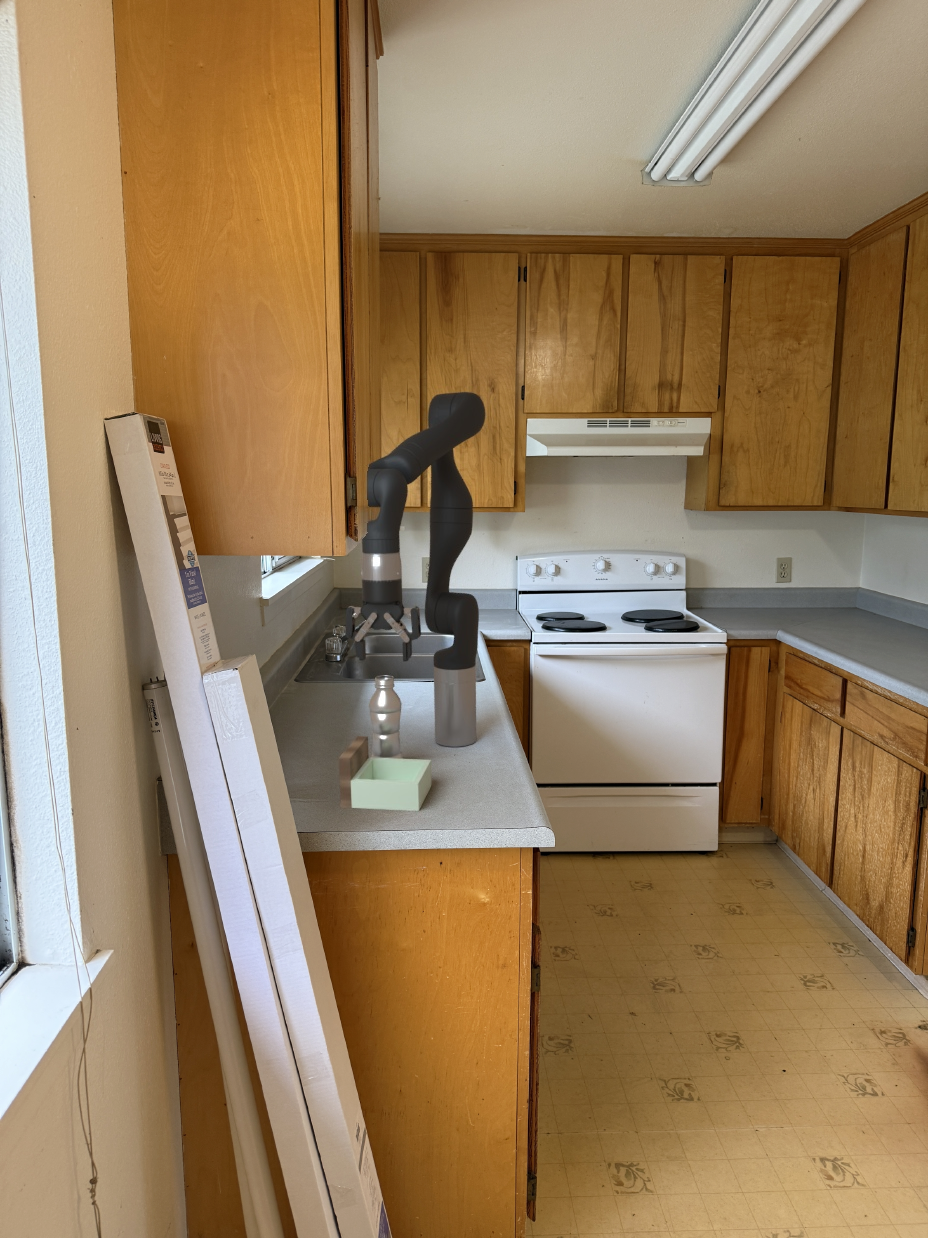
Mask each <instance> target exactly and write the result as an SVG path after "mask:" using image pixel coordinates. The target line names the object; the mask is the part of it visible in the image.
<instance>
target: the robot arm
mask: <svg viewBox="0 0 928 1238" xmlns="http://www.w3.org/2000/svg"><path fill="white" fill-rule="evenodd" d="M485 420H486V407H485V404H484V401H483V399H482V398H481V397H480V396H479V395H478V394H476V393H475V392H471V391H470V392H469V391H461V392H459V391H457V392H448V393H446V392H445V393H439V394H436V395H435V396H433V397H432V398H431V400H430V402H429V407H428V413H427V428H425V429H423V430H421V431H419V432H416V433H415V434H412V435H411V436H409V437H407V438H406V439H404V440H403V441H402V442H400V443H399V445H397V446H396V447H395V448H394V449H392V451H390V453H388V454H387V455H384V456H383V457H380V458H378V459H377V460H375V461H373V462H371V463H369V467H368V471H367V500H368V506H369V507H368V508H379V511H378V515H377V518H376V519H372V520H368V521H367V522H368V523H367V532H368V533H367V534H366V536H365V537H364V538H363V539H362V538H361V549H362V552H361V553H362V558H361V570H360V576H361V591H362V593H361V594H362V596H361V597H362V604H361V607H360V606H355V605H350V606H348V607H347V608H346V609H345V610H346V611H345V637H346V638H347V639H352V640H354V641H355V655H356V658H358V660H359V661H360V662H363V661H365V660H366V657H367V655H366V651H367V650H366V639H365V637H366V635H367V634H368V633H369V631H371V629H373V630H374V631H379V630H384V631H391V630H394V632H396V634H397V635H399V637H400V638H401V640H403V642H402V662H408V661H409V659H411V658H412V655H413V651H412V649H413V645H412V643H413V641H414V640H418V639H419V638H420V637H421V636H422V629H421V627H422V626H421V625H422V624H421V615H420V613H421V612H420V608H419V606H417V605H415V606H413V607H405V606H404V604H403V578H402V577H403V576H402V575H403V574H402V572H403V571H402V559H401V547H400V545H401V544H400V530H401V527H402V526H401V525H402V520H403V516H404V512H405V507H406V504H407V500H408V493H409V489H408V485H411V484H412V483H414V482H415V481H416V480H418V478H419V477H420V476H421V475H422V474H423V473H425V471H427V469H429V467H430V499H429V502H430V503H429V557H428V559H429V560H428V572H427V584H426V590H425V591H426V592H425V600H424V620H425V624H426V627H427V629H428V630H429V632H431V633H433V634H440V635H451V636H453V643H452V645H451V646H449V647H445V648H443V649H439V650H437V651H435V653H434V654H433V687H434V688H433V690H434V691H433V695H434V697H433V698H434V699H433V700H434V702H433V703H434V742H435V743H437V744H438V745H440V746H444V747H450V748H451V747H457V748H458V747H465V746H466V747H467V746H470V745H472V744H474V743H476V741H477V685H476V684H477V683H476V682H477V676H476V675H477V673H476V672H477V671H476V670H477V669H476V667H477V666H476V664H477V663H476V661H477V660H476V659H477V653H478V648H479V647H478V646H479V645H478V644H479V622H480V619H479V617H480V611H479V610H480V609H479V604H478V601H477V598H476V597H475V596H474V595H473V594H470V593H465V592H452V591H450V582H451V581H450V580H451V576H452V571H453V568H454V566H455V563H456V561H457V560H458V558H459V557H460V555H461V553H462V551H463V550H464V549H465V547H466V545H467V543H468V542H469V539H470V537H471V535H472V532H473V524H474V522H473V520H474V519H473V518H474V515H473V514H474V513H473V512H474V510H473V509H474V502H473V501H474V500H473V497H472V494H471V492H470V490H469V488H468V485H467V484H466V482H465V481H464V478H463V476H462V475H461V473H460V471H459V469H458V467H457V464H456V461H455V455H454V453H455V451H454V449H455V448H456V447H458V446H459V445H461V444H462V443H464V442H465V441H467V440H469V439H471V438H473V437H475V436H476V435H477V434H479V432H481V430H482V428H483V426H484V425H485V422H486V421H485ZM359 614H360V615H361V616H362V618H363V619H364V620H365V622H364V624H363V625H362V626H361V628H360V629H359V630H358V631H356V618H358V617H359ZM405 615H406V616H407V618H408V619H409V620H410V625H411V631H412V632H410V631H409V630H408V628H407V627H406V625H405V623H403V621H402V618H403V617H404V616H405Z"/></svg>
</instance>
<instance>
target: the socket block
mask: <svg viewBox="0 0 928 1238" xmlns="http://www.w3.org/2000/svg"><path fill="white" fill-rule="evenodd" d="M431 787H432V759H419V758H418V759H415V758H403V759H394V758H371V757H369V758H368V759H367V760H366V762H365V763H364V764H363V765H362V767H361V768H360V769H359V771H358V772H357V773H356V775H355V776H354V777H353V778H352V780H351V801H352V808H351V809H353V808H354V809H368V810H369V809H370V810H387V811H389V810H392V811H408V812H409V811H411V812H419V811H420V810H421V807H422V805H423V803H424V801H425V799H426V797H427V795H428V793H429V792H430V789H431Z"/></svg>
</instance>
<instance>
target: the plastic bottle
mask: <svg viewBox="0 0 928 1238" xmlns="http://www.w3.org/2000/svg"><path fill="white" fill-rule="evenodd" d="M394 681H395V679H394V676H393V675H385V674H384V675H377V676H376V677H375V679H374V688H375V689H376V690H375V691H374V693H373V694H372V696H371V697H370V699H369V703H368V709H369V716H370V721H371V731H372V746H371V747H372V750H371V751H372V753H371V755H370V758H394V759H404V758H403V753H402V748H401V739H400V738H401V737H400V727H401V726H400V724H401V723H400V722H401V721H400V720H401V715H402V714H401V713H402V701H401V698H400V697H399V694H398V693H397V692H396V691H395V690H394V687H395V682H394Z"/></svg>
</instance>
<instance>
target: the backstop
mask: <svg viewBox="0 0 928 1238" xmlns="http://www.w3.org/2000/svg"><path fill="white" fill-rule="evenodd" d="M369 755H370V754H369V736H361V735H360V736H359V735H358V736H356V737H355V739H354V740H353V741H351V743H350V744H349V746H348V747H346V749H345V750H344V751H343V752H342V754H341V755H340V756H339V757H338V769H339V772H338V773H339V775H338V776H339V794H340V796H339V797H340V808H344V809H347V808H348V809H353V808H352V801H351V780H352V778H353V777H354V776H355V775H356V773H357V772H358V771H359V769H360V768H361V767H362V765H363V764H364V763H365V762H366V760H367V759H368V758H370V756H369Z"/></svg>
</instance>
